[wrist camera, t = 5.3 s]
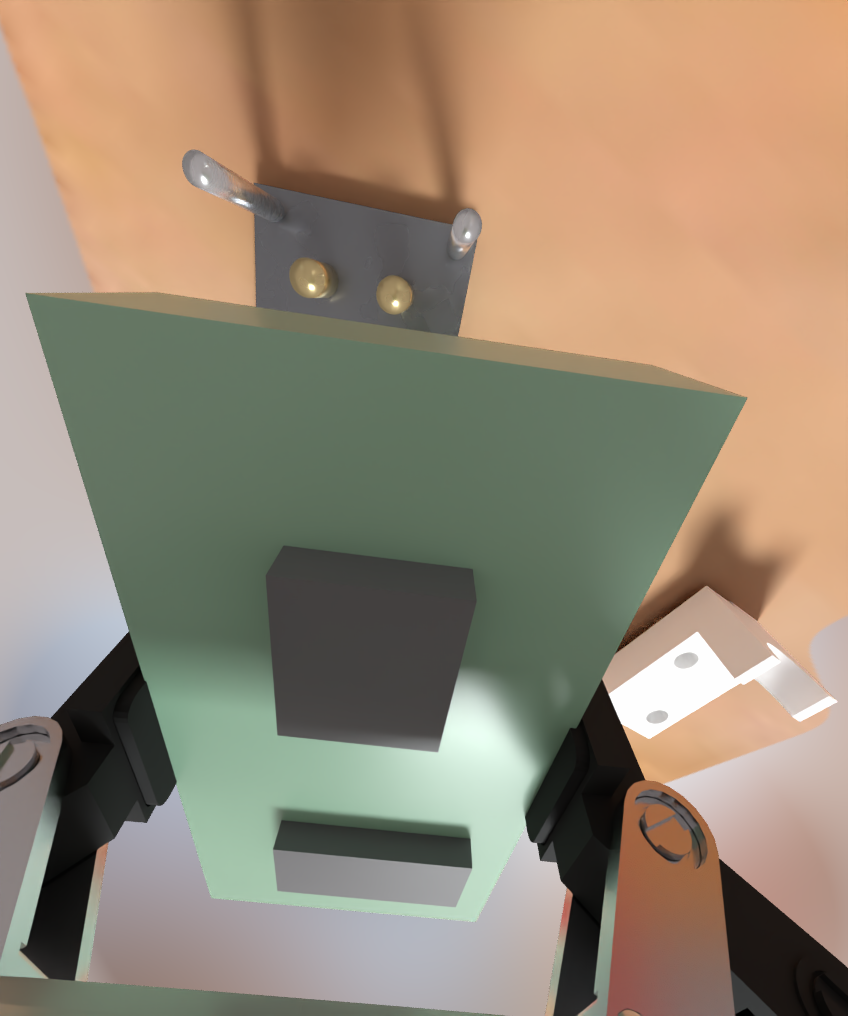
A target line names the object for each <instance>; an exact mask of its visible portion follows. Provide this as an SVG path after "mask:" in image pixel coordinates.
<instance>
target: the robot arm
mask: <svg viewBox="0 0 848 1016" xmlns="http://www.w3.org/2000/svg"><path fill="white" fill-rule="evenodd" d="M176 783H177V781H176V777H175V774H174V771H173V767H172V764H171V761H170V758H169V754H168V751H167V748H166V744H165V741H164V738H163V734H162V731H161V728H160V725H159V721H158V718H157V715H156V711H155V708H154V705H153V702H152V698H151V695H150V692H149V688H148V685H147V682H146V681H144V678H143V674H142V671H141V668H140V665H139V661H138V658H137V655H136V652H135V648H134V645H133V642H132V639H131V635H130V632H128V633H127V634H126V635H125V636H124V638H123V639H122V640H121V641H120V642H119V643H118V644H117V645H116V646H115V648H114V649H113V650H112V651H111V652H110V653H109V654H108V655H107V656H106V657H105V659H104V660H103V661H102V662H101V663H100V664H99V665H98V666H97V667H96V669H95V670H94V671H93V672H92V673H91V674H90V675H89V676H88V677H87V678H86V680H85V681H84V682H83V683H82V684H81V685H80V686H79V687H78V688H77V690H76V691H75V692H74V693H73V694H72V695H71V696H70V697H69V698H68V699H67V701H66V702H65V703H64V704H63V705H62V706H61V707H60V708H59V709H58V711H57V712H56V713H55V714H54V715H53V716H52V717H51V718H48V717H40V716H32V717H25V718H19V719H16V720H13V721H10V722H7V723H4V724H1V725H0V1016H503V1015H492V1014H479V1013H469V1012H456V1011H445V1010H434V1009H423V1008H410V1007H399V1006H386V1005H375V1004H362V1003H350V1002H337V1001H325V1000H314V999H301V998H288V997H276V996H264V995H251V994H239V993H226V992H213V991H202V990H189V989H175V988H162V987H149V986H136V985H123V984H110V983H96V982H87V980H88V973H89V967H90V960H91V953H92V946H93V940H94V934H95V927H96V921H97V914H98V908H99V901H100V895H101V888H102V882H103V875H104V869H105V862H106V856H107V849H108V843H109V841H111V840H112V839H114V838H115V837H116V835H117V833H118V832H119V830H120V828H121V827H122V825H123V823H124V821H133V822H144V823H147V821H148V819H149V818H150V816H151V813H152V812H153V810H154V808H155V806H156V805H158V806H161V805H163V804H164V803H165V802H166V800H167V799H168V797H169V796H170V794H171V792H172V790H173V788H174V787H175V785H176ZM525 820H526V826H527V832H528V836H529V839H530V841H531V842H534V843H537V845H538V850H539V856H540V861H547V862H557V864H558V869H559V874H560V879H561V881H562V882H563V884H565V886H566V887H567V890H566V895H565V901H564V907H563V913H562V919H561V924H560V930H559V936H558V942H557V947H556V953H555V959H554V965H553V970H552V976H551V982H550V988H549V994H548V999H547V1005H546V1011H545V1016H848V968H847V967H846V966H845V965H844V964H843V963H842V962H840V961H839V960H838V959H837V958H836V957H835V956H833V955H832V954H831V953H830V952H829V951H827V950H826V949H825V948H824V947H823V946H822V945H821V944H819V943H818V942H817V941H816V940H814V939H813V938H812V937H811V936H810V935H809V934H808V933H806V932H805V931H804V930H803V929H802V928H801V927H799V926H798V925H797V924H796V923H795V922H793V921H792V920H791V919H790V918H789V917H788V916H786V915H785V914H784V913H783V912H782V911H780V910H779V909H778V908H777V907H776V906H775V905H773V904H772V903H771V902H770V901H769V900H767V899H766V898H765V897H764V896H763V895H762V894H760V893H759V892H758V891H757V890H756V889H755V888H753V887H752V886H751V885H750V884H749V883H748V882H746V881H745V880H744V879H743V878H742V877H740V876H739V875H738V874H737V873H735V871H733V870H732V869H731V868H730V867H728V866H727V865H726V864H725V863H724V862H723V861H722V860H720V859H719V855H718V851H717V847H716V843H715V839H714V837H713V835H712V833H711V831H710V829H709V827H708V825H707V823H706V822H705V820H704V819H703V818H702V816H701V815H700V814H699V812H698V811H697V810H696V808H695V807H694V806H693V805H691V804H690V803H689V802H688V801H687V800H686V799H685V798H684V797H683V796H681V795H680V794H679V793H677V792H676V791H674V790H673V789H671V788H670V787H668V786H666V785H663V784H661V783H658V782H655V781H646V780H645V778H644V776H643V774H642V771H641V769H640V767H639V764H638V762H637V759H636V757H635V755H634V752H633V750H632V748H631V745H630V743H629V741H628V738H627V736H626V734H625V731H624V729H623V727H622V724H621V722H620V720H619V717H618V715H617V713H616V710H615V708H614V706H613V703H612V701H611V699H610V696H609V694H608V691H607V689H606V687H605V684H604V682H603V680H601V682H600V684H599V686H598V687H597V689H596V691H595V693H594V695H593V697H592V699H591V701H590V703H589V705H588V707H587V709H586V711H585V713H584V715H583V716H582V718H581V720H580V722H579V724H578V726H577V728H570V729H569V731H568V733H567V735H566V737H565V739H564V741H563V743H562V745H561V747H560V749H559V751H558V753H557V755H556V757H555V759H554V761H553V763H552V765H551V767H550V768H549V770H548V772H547V774H546V776H545V778H544V780H543V782H542V784H541V786H540V788H539V790H538V792H537V794H536V796H535V798H534V800H533V802H532V804H531V806H530V808H529V810H528V812H527V814H526V816H525Z"/></svg>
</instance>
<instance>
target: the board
mask: <svg viewBox="0 0 848 1016" xmlns="http://www.w3.org/2000/svg"><path fill="white" fill-rule="evenodd" d="M26 297H27V300H28V303H29V307H30V310H31V313H32V316H33V320H34V322H35V326H36V329H37V333H38V336H39V339H40V342H41V345H42V349H43V352H44V355H45V358H46V362H47V365H48V368H49V372H50V375H51V378H52V381H53V385H54V388H55V391H56V394H57V398H58V401H59V404H60V407H61V411H62V414H63V417H64V420H65V424H66V427H67V430H68V434H69V436H70V440H71V443H72V446H73V450H74V453H75V456H76V460H77V463H78V466H79V469H80V473H81V476H82V479H83V482H84V486H85V489H86V492H87V495H88V499H89V502H90V505H91V508H92V512H93V515H94V518H95V521H96V525H97V528H98V531H99V534H100V538H101V541H102V544H103V547H104V551H105V554H106V557H107V560H108V563H109V566H110V570H111V573H112V577H113V580H114V583H115V587H116V590H117V593H118V596H119V600H120V603H121V606H122V609H123V612H124V616H125V619H126V622H127V626H128V629H129V632H130V635H131V639H132V642H133V645H134V648H135V652H136V655H137V658H138V661H139V665H140V668H141V671H142V674H143V678H144V681H146V682H147V685H148V688H149V692H150V695H151V698H152V702H153V705H154V708H155V711H156V715H157V718H158V721H159V725H160V728H161V731H162V734H163V738H164V741H165V744H166V748H167V751H168V754H169V758H170V761H171V764H172V767H173V771H174V774H175V777H176V781H177V783H176V785H177V788H178V792H179V795H180V798H181V801H182V805H183V808H184V811H185V814H186V817H187V821H188V824H189V827H190V831H191V834H192V837H193V840H194V843H195V847H196V850H197V853H198V857H199V860H200V863H201V866H202V870H203V873H204V876H205V879H206V882H207V886H208V889H209V892H210V896H211V898H216V899H227V900H239V901H249V902H261V903H272V904H282V905H294V906H306V907H317V908H327V909H339V910H349V911H360V912H371V913H383V914H394V915H405V916H416V917H427V918H438V919H449V920H460V921H472V922H476V921H477V919H478V917H479V915H480V913H481V911H482V909H483V907H484V906H485V904H486V902H487V900H488V898H489V896H490V894H491V892H492V890H493V888H494V886H495V884H496V882H497V880H498V879H499V876H500V875H501V873H502V871H503V869H504V867H505V865H506V863H507V861H508V859H509V857H510V855H511V853H512V852H513V850H514V848H515V846H516V844H517V842H518V840H519V838H520V836H521V834H522V832H523V830H524V828H525V826H526V820H525V816H526V814H527V812H528V810H529V808H530V806H531V804H532V802H533V800H534V798H535V796H536V794H537V792H538V790H539V788H540V786H541V784H542V782H543V780H544V778H545V776H546V774H547V772H548V770H549V768H550V767H551V765H552V763H553V761H554V759H555V757H556V755H557V753H558V751H559V749H560V747H561V745H562V743H563V741H564V739H565V737H566V735H567V733H568V731H569V729H570V728H577V726H578V724H579V722H580V720H581V718H582V716H583V715H584V713H585V711H586V709H587V707H588V705H589V703H590V701H591V699H592V697H593V695H594V693H595V691H596V689H597V687H598V686H599V684H600V682H601V680H602V678H603V676H604V674H605V672H606V670H607V668H608V666H609V664H610V662H611V660H612V659H613V657H614V655H615V653H616V651H617V649H618V647H619V645H620V643H621V641H622V639H623V637H624V635H625V633H626V632H627V630H628V628H629V626H630V624H631V622H632V620H633V618H634V616H635V614H636V612H637V610H638V608H639V606H640V604H641V603H642V601H643V599H644V597H645V595H646V593H647V591H648V589H649V587H650V585H651V583H652V581H653V579H654V577H655V576H656V574H657V572H658V570H659V568H660V566H661V564H662V562H663V560H664V558H665V556H666V554H667V552H668V550H669V549H670V547H671V545H672V543H673V541H674V539H675V537H676V535H677V533H678V531H679V529H680V527H681V525H682V523H683V521H684V520H685V518H686V516H687V514H688V512H689V510H690V508H691V506H692V504H693V502H694V500H695V498H696V496H697V494H698V493H699V491H700V489H701V487H702V485H703V483H704V481H705V479H706V477H707V475H708V473H709V471H710V469H711V467H712V466H713V464H714V462H715V460H716V458H717V456H718V454H719V452H720V450H721V448H722V446H723V444H724V442H725V440H726V438H727V437H728V435H729V433H730V431H731V429H732V427H733V425H734V423H735V421H736V419H737V417H738V415H739V413H740V411H741V410H742V408H743V406H744V404H745V402H746V400H747V397H744V396H741V395H738V394H735V393H732V392H729V391H726V390H723V389H721V388H718V387H715V386H712V385H709V384H706V383H703V382H700V381H697V380H694V379H691V378H688V377H686V376H683V375H680V374H677V373H674V372H671V371H668V370H665V369H662V368H659V367H656V366H653V365H648V364H641V363H634V362H628V361H621V360H614V359H607V358H600V357H594V356H587V355H580V354H573V353H566V352H560V351H553V350H546V349H539V348H532V347H526V346H519V345H512V344H505V343H498V342H491V341H485V340H478V339H471V338H464V337H457V336H451V335H444V334H437V333H430V332H423V331H417V330H410V329H403V328H396V327H389V326H383V325H376V324H369V323H362V322H355V321H348V320H342V319H335V318H328V317H321V316H314V315H308V314H301V313H294V312H287V311H280V310H274V309H267V308H260V307H253V306H246V305H240V304H233V303H226V302H219V301H212V300H205V299H199V298H192V297H185V296H178V295H171V294H165V293H158V292H150V293H26Z"/></svg>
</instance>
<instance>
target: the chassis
mask: <svg viewBox="0 0 848 1016" xmlns="http://www.w3.org/2000/svg"><path fill="white" fill-rule="evenodd" d="M182 167H183V171H184V174H185V176H186V178H187V180H188V181H189V182H190V183H191V184H192V185H194V186H195V187H198V188H200V189H202V190H204V191H206V192H208V193H211V194H213V195H215V196H217V197H219V198H221V199H224V200H226V201H228V202H230V203H232V204H234V205H237V206H239V207H241V208H243V209H245V210H247V211H250V212H252V213H254V216H255V264H256V307H260V308H267V309H274V310H280V311H287V312H294V313H301V314H308V315H314V316H321V317H328V318H335V319H342V320H348V321H355V322H362V323H369V324H376V325H383V326H389V327H396V328H403V329H410V330H417V331H423V332H430V333H437V334H444V335H451V336H457V337H458V333H459V328H460V323H461V318H462V313H463V308H464V303H465V298H466V293H467V288H468V283H469V278H470V273H471V268H472V263H473V258H474V253H475V248H476V243H477V238H478V236H479V235H480V232H481V229H482V221H481V218H480V216H479V214H478V213H477V212H476V211H475V210H473V209H469V208H467V209H463V210H461V211H460V212H459V213H458V214H457V215H456V217H455V219H454V222H453V225H452V224H447V223H442V222H437V221H433V220H428V219H423V218H418V217H414V216H409V215H404V214H399V213H395V212H390V211H385V210H380V209H376V208H371V207H366V206H362V205H357V204H352V203H347V202H343V201H338V200H333V199H328V198H324V197H319V196H314V195H309V194H305V193H300V192H295V191H290V190H286V189H281V188H276V187H272V186H267V185H262V184H257V183H254V184H252V183H250V182H249V181H247V180H246V179H244V178H242V177H241V176H239V175H238V174H236V173H234V172H233V171H231V170H229V169H228V168H226V167H225V166H223V165H221V164H220V163H218V162H217V161H215V160H213V159H212V158H210V157H209V156H207V155H205V154H204V153H202V152H200V151H198V150H190V151H188V152H187V153H186V154H185V155H184V157H183V161H182Z"/></svg>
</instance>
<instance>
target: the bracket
mask: <svg viewBox="0 0 848 1016" xmlns="http://www.w3.org/2000/svg"><path fill="white" fill-rule="evenodd" d="M753 679H755V680H757V681H758V682H759V683H760V684H761V685H762V686H763V687H764V688H765V689H766V690H767V691H768V692H769V693H770V694H771V695H772V696H773V697H774V698H775V699H776V700H777V701H778V702H779V703H780V704H781V705H782V706H783V707H784V708H785V709H786V710H787V712H788V713H789V714H790V715H791V716H792V717H793V718H795V719H796V720H798V721H799V722H801V721H802V720H804V719H806V718H808V717H810V716H812V715H814V714H816V713H817V712H819V711H821V710H823V709H825V708H827V707H829V706H831V705H832V704H834V703H836V702H837V700H836V699H835V698H834V697H833V696H832V695H831V694H830V693H829V692H828V691H827V690H826V689H825V688H824V687H823V686H822V685H821V684H820V683H819V682H818V681H817V680H816V679H815V678H814V677H813V676H812V675H811V674H810V673H809V672H808V671H807V670H806V669H805V668H804V667H803V666H802V665H801V664H800V663H799V662H798V661H797V660H796V659H795V658H794V657H793V656H792V655H791V654H790V653H789V652H788V651H787V650H786V649H785V648H784V647H783V646H782V645H781V644H780V643H779V642H778V641H777V640H776V639H775V638H774V637H773V636H772V635H771V634H770V633H769V632H768V631H767V630H766V629H765V628H764V627H763V626H762V625H761V624H760V623H759V622H758V621H757V620H755V619H754V618H753V617H751V616H750V615H749V614H747V613H746V612H744V611H743V610H742V609H740V608H739V607H738V606H736V605H735V604H733V603H732V602H731V601H730V602H728V601H727V600H726V599H724V598H723V597H722V596H720V595H719V594H717V593H716V592H715V591H713V590H712V589H711V588H709V587H708V586H705V587H704V588H703V589H701V590H700V591H699V592H697V593H696V594H695V595H693V596H692V597H691V598H689V599H688V600H687V601H685V602H684V603H683V604H681V605H680V606H679V607H677V608H676V609H675V610H673V611H672V612H671V613H669V614H668V615H667V616H665V617H664V618H663V619H661V620H660V621H659V622H657V623H656V624H655V625H653V626H652V627H651V628H649V629H648V630H647V631H645V632H644V633H643V634H641V635H640V636H639V637H637V638H636V639H635V640H633V641H632V642H631V643H629V644H628V645H627V646H625V647H624V648H623V649H621V650H620V651H619V652H617V653H616V654H615V655H614V657H613V659H612V660H611V662H610V664H609V666H608V668H607V670H606V672H605V674H604V676H603V678H602V680H603V682H604V684H605V687H606V689H607V691H608V694H609V696H610V699H611V701H612V703H613V706H614V708H615V710H616V713H617V715H618V717H619V720H620V722H621V724H623V725H625V726H627V727H628V728H630V729H632V730H634V731H636V732H638V733H639V734H641V735H643V736H645V737H647V738H648V739H650V738H651V737H653V736H655V735H656V734H658V733H660V732H661V731H663V730H664V729H666V728H668V727H669V726H671V725H673V724H674V723H676V722H677V721H679V720H681V719H682V718H684V717H686V716H687V715H689V714H690V713H692V712H694V711H695V710H697V709H699V708H700V707H702V706H704V705H705V704H707V703H708V702H710V701H712V700H713V699H715V698H717V697H718V696H720V695H721V694H723V693H725V692H726V691H728V690H730V689H731V688H733V687H735V686H736V685H738V684H739V683H742V684H743V685H744V684H746V683H748V682H749V681H751V680H753Z"/></svg>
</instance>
